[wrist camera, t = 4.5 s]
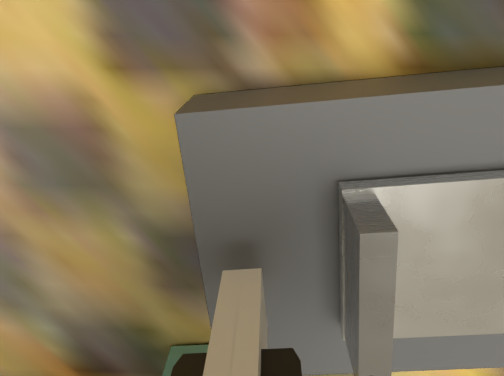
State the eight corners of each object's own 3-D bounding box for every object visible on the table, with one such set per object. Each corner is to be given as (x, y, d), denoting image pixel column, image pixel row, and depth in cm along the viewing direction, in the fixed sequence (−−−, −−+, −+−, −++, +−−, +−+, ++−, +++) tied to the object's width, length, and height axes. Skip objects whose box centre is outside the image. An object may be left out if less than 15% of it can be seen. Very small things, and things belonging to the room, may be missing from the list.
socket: (227, 319, 25) (219, 378, 21) (194, 95, 20) (174, 114, 15) (561, 302, 23) (624, 362, 19) (622, 55, 18) (728, 65, 14)
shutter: (340, 328, 19) (356, 398, 15) (338, 182, 16) (358, 227, 12) (504, 320, 18) (560, 391, 15) (532, 167, 15) (611, 210, 12)
